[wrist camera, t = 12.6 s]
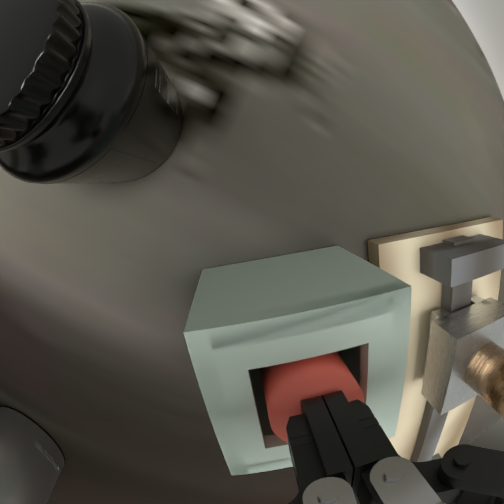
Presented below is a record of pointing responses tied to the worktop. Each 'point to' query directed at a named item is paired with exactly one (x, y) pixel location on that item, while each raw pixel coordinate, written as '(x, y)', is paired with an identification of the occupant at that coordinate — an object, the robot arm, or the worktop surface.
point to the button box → (293, 340)
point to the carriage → (465, 356)
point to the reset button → (304, 386)
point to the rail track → (430, 299)
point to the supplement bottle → (81, 95)
